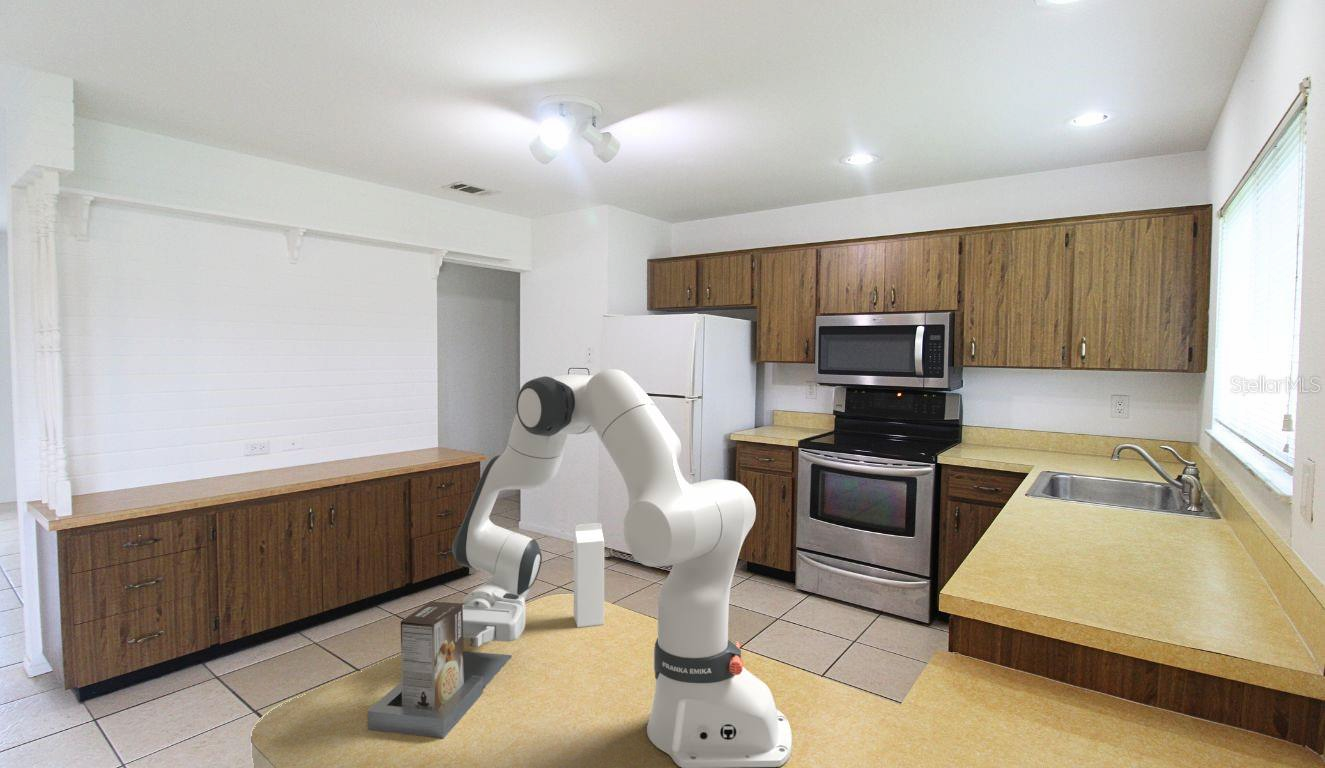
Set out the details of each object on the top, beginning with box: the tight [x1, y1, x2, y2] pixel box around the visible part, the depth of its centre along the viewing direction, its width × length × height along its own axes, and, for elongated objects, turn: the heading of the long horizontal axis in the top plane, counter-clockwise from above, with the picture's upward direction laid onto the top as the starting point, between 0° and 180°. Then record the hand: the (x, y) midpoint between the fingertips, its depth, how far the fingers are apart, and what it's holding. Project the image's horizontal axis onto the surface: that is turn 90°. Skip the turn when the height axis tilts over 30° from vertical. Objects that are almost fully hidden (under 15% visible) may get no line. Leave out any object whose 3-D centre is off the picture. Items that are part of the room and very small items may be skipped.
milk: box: [573, 522, 605, 628], centre depth 140 cm, size 6×6×22 cm
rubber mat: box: [463, 650, 513, 689], centre depth 118 cm, size 12×12×1 cm
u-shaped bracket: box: [366, 675, 484, 739], centre depth 104 cm, size 13×14×3 cm
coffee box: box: [400, 601, 464, 711], centre depth 106 cm, size 9×6×16 cm
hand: (449, 640), depth 111 cm, fingers open, 8 cm apart
